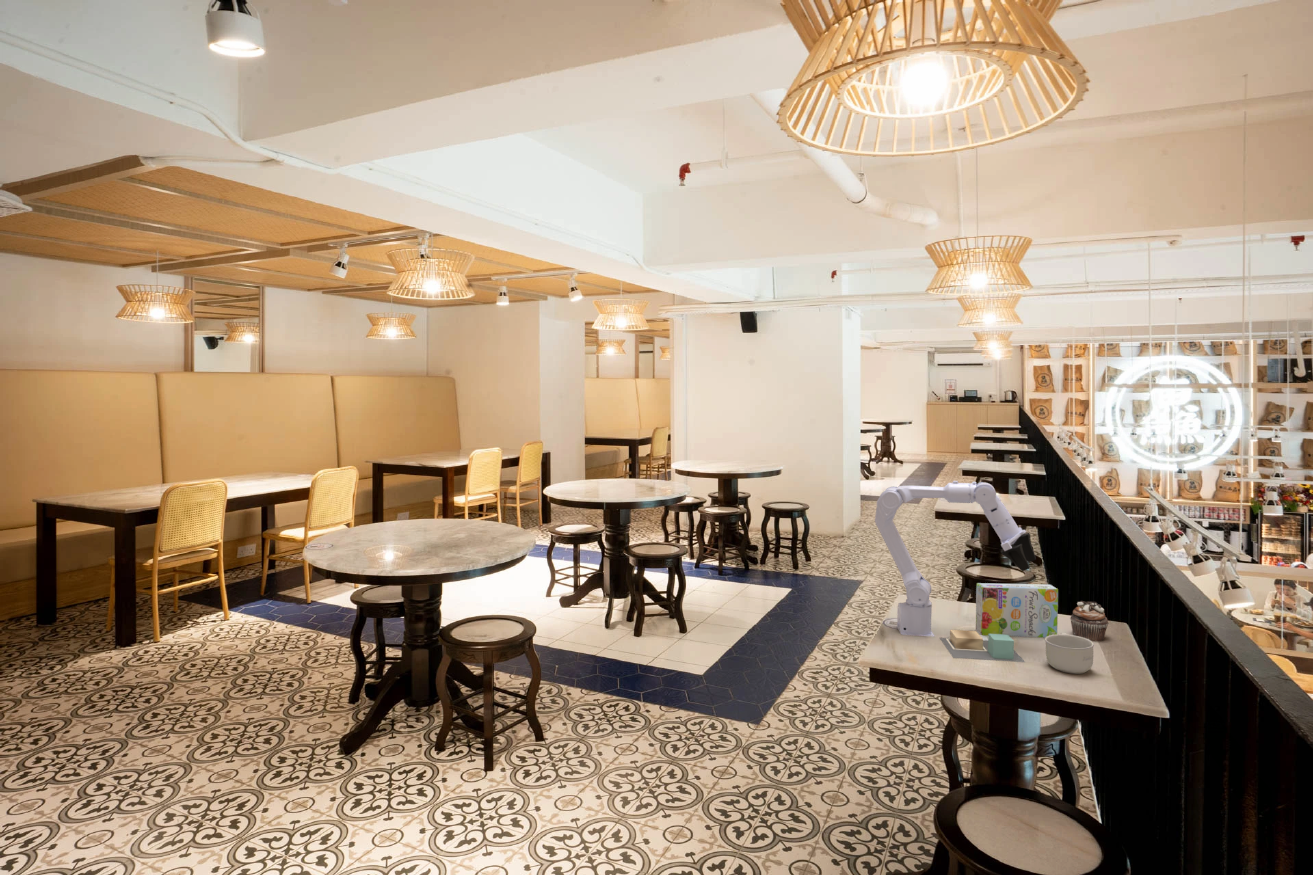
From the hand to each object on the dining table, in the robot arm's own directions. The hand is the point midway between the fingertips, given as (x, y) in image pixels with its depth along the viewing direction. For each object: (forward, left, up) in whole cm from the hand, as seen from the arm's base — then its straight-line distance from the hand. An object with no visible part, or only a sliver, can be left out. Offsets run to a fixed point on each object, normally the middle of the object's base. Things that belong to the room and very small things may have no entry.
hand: (1029, 565), depth 196 cm
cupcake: (+21, +14, -24) cm, 35 cm away
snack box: (0, +11, -24) cm, 26 cm away
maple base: (-17, -2, -23) cm, 28 cm away
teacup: (+5, -14, -24) cm, 28 cm away
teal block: (-10, -9, -23) cm, 26 cm away
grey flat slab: (-14, -5, -23) cm, 28 cm away
